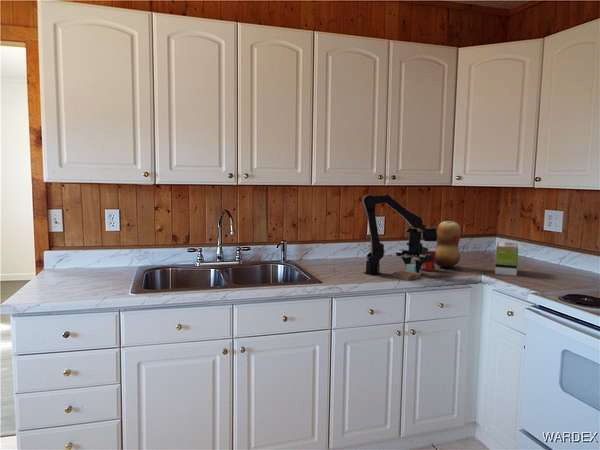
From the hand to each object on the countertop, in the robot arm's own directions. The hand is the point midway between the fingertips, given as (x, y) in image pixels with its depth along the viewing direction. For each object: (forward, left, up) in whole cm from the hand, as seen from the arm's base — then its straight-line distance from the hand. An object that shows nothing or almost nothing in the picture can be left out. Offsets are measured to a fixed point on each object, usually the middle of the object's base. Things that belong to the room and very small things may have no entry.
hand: (413, 272), depth 206 cm
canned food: (+14, +2, -1) cm, 14 cm away
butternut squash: (+28, 0, -1) cm, 28 cm away
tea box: (+44, -24, -1) cm, 50 cm away
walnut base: (-8, -3, -1) cm, 8 cm away
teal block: (0, 0, -1) cm, 1 cm away
